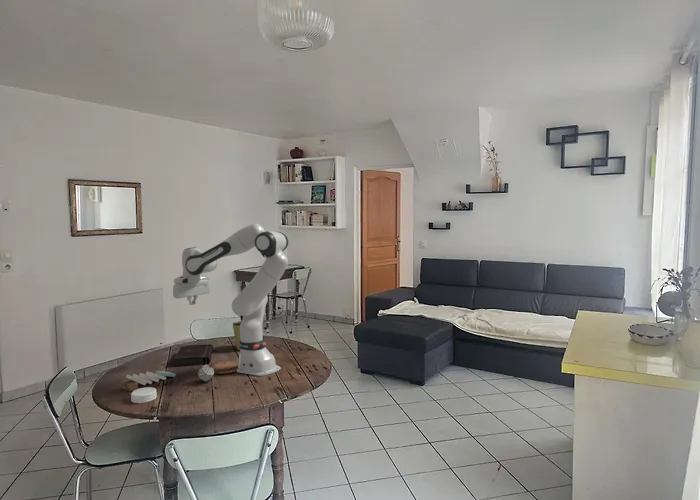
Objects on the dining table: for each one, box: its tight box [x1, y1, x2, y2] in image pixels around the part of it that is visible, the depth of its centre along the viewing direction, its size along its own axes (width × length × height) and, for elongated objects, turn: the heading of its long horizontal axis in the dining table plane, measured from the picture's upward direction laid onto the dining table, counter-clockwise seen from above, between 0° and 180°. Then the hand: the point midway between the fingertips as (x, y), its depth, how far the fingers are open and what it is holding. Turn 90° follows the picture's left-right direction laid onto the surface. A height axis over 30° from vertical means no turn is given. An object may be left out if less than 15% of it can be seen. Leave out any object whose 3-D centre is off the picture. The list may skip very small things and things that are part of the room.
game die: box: [196, 364, 216, 384], centre depth 216 cm, size 9×8×10 cm
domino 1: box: [125, 374, 147, 386], centre depth 210 cm, size 4×1×8 cm
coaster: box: [130, 386, 158, 404], centre depth 196 cm, size 10×10×4 cm
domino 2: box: [132, 373, 154, 385], centre depth 212 cm, size 4×1×8 cm
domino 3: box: [138, 372, 160, 383], centre depth 215 cm, size 4×1×8 cm
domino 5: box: [155, 370, 177, 378], centre depth 221 cm, size 4×1×8 cm
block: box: [122, 379, 139, 393], centre depth 208 cm, size 7×4×3 cm, turn 52°
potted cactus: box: [232, 316, 243, 351], centre depth 271 cm, size 15×15×30 cm
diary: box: [173, 343, 214, 368], centre depth 252 cm, size 19×25×5 cm
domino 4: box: [146, 371, 167, 381], centre depth 218 cm, size 4×1×8 cm
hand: (192, 304), depth 243 cm, fingers closed
